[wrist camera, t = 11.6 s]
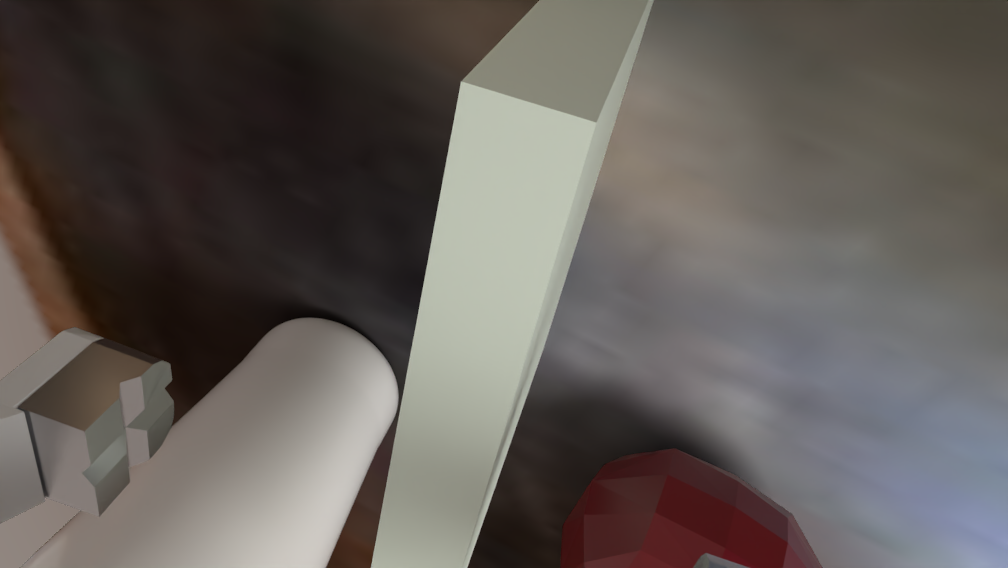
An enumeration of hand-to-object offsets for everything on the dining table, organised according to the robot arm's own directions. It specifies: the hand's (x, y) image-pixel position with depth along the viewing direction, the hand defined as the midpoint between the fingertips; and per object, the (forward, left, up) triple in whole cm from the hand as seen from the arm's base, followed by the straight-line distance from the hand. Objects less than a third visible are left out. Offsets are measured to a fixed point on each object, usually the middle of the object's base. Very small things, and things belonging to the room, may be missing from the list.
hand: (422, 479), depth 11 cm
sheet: (0, 0, -12) cm, 12 cm away
